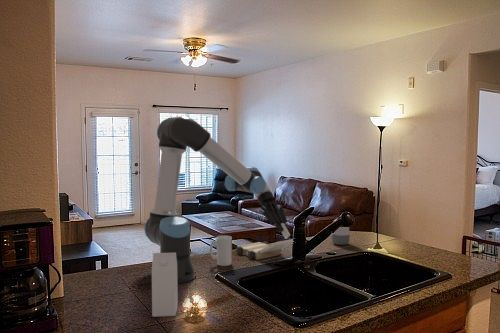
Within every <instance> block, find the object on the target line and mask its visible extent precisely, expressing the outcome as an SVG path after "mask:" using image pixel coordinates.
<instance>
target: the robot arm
mask: <svg viewBox="0 0 500 333" xmlns="http://www.w3.org/2000/svg"><path fill="white" fill-rule="evenodd" d="M156 137H157V138H158V141H159V143H158V148H159V150H160V151H161V156H160V163H159V171H158V178H157V179H158V180H157V186H156V191H155V192H156V194H155V203H154V208H152V209H151V210H150V211H149V217H148V218H147V220H146V221H145V223H144V234H145V236H146V237H147V239H148V240H150V242H152V243H153V244H156V245H158V246H159V250H160V251H159V253H176V258H177V284H182V283H186V282H187V283H188V282H190V281H192V280H193V279H195V276H196V275H195V274H196V271H195V268H194V265H193V263H192V259H191V225H190V224H191V223H190V221H189V220H188V219H187V218H184V217H183V216H181V217H180V216H179V213H178V212H177V211H176V202H177V197H178V188H179V181H180V180H179V179H180V173H181V165H182V157H183V154H184V153H185V152H187V148H190V149H191V150H192V151H193V152H195V153H197V152H198V153H200V154H201V155H203V156H204V157H205V158H207V159H208V160H209V161H210V162H211V163H213V164H214V165H215V166H216V167H217V168H219V169H220V170H221V171H222V172H224V173H225V174H226V175H227V176H226V177H225V179H224V186H225V189H226V190H227V191H229V192H235V191H241V192H244V193H250V194H254V196H255V198H256V199H257V203H259V205H260V206H261V207H260V209H259V210H258V211H259V212H260V213H261V214H263V215H264V217H265V218H266V220H268V222H269V223H270V224H271V226H272V227H275V228H276V229H278V231H279V232H280V233H281V234H282V237H284V240H288V238H289V237H291V234H290V232H289V229H288V227H287V225H286V223H287V222H288V218H287V216H286V213H285V211H284V205H283V204H282V203H281V204H278V202H277V201H276V199H275V196H274V194H273V193H272V191H271V189H270V187H269V186H268V184H267V183H266V180H265V179H264V177H263V174H262V173H261V172H260V170H259V169H258V168H257V167H255V166H254V167H253V166H251V167H249V168H247V167H246V166H245V165H244V164H242V162H240V161H239V160H238V159H237V158H235V156H234V155H232V154H231V153H230V152H228V150H226V149H225V148H224V147H223V146H222V145H220V144H219V143H218V142H217V141H216V140H215V139H213V138H212V137H211V133H210V132H209V131H208V130H207V129H205V127H203V126H202V125H201V124H200V123H198V122H197V121H196V120H194V119H193V118H192V117H191V118H190V117H188V116H183V115H181V116H175V117H174V116H173V117H172V116H171V117H168V118H165V119H164V120H162V121H161V122H160V123H159V124H158V127H157V128H156Z"/></svg>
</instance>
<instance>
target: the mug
mask: <svg viewBox="0 0 500 333" xmlns="http://www.w3.org/2000/svg"><path fill="white" fill-rule="evenodd" d="M214 245H216V255H215V254H214V252H213V247H214ZM232 245H233V239H232V236H231V235H218V236H216V241H215V240H212V241H211V242H210V245H209V254H210V256H211V259H212V260H216V265H217V266H220V267H228V266H230V265H232V253H233V252H232V248H233V246H232Z"/></svg>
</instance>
